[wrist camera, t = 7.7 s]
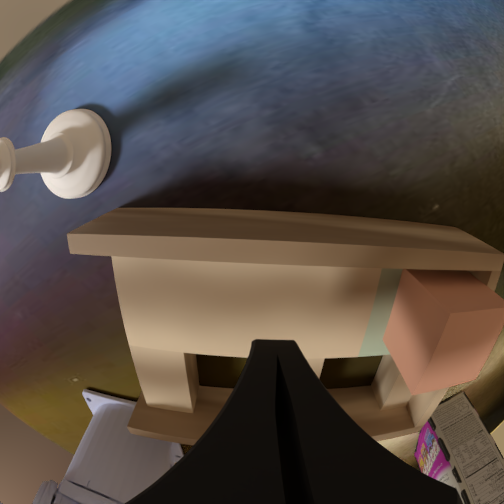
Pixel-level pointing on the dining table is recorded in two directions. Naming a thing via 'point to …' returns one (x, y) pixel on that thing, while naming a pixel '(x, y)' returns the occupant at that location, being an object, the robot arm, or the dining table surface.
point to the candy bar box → (461, 452)
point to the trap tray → (267, 301)
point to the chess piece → (62, 155)
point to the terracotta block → (442, 328)
